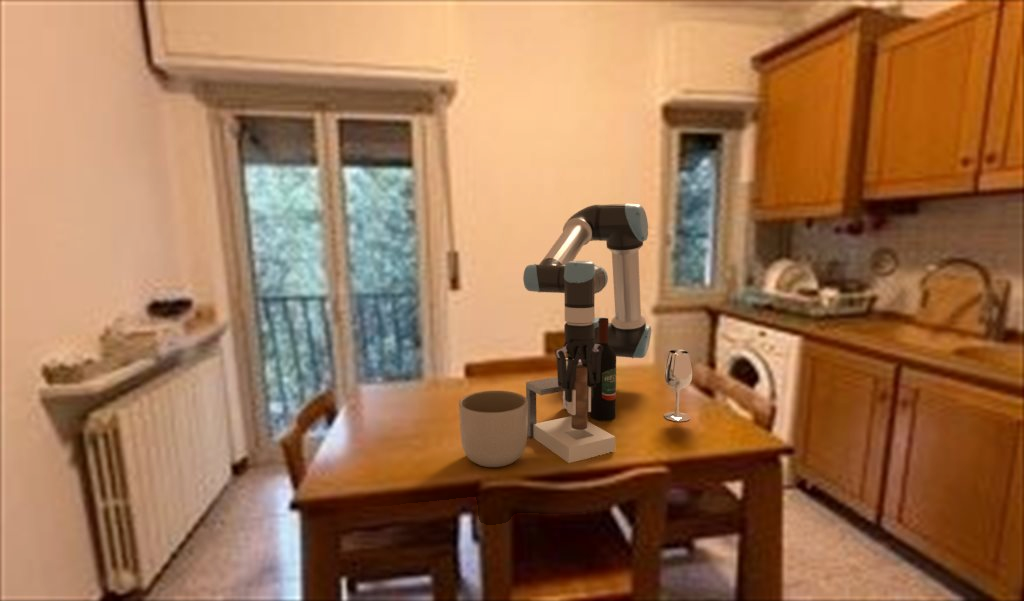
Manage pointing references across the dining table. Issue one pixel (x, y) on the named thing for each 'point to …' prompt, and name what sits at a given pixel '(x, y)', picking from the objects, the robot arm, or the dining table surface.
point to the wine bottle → (605, 379)
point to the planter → (493, 427)
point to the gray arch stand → (542, 389)
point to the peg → (580, 398)
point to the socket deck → (573, 439)
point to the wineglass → (678, 379)
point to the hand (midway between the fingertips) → (579, 411)
